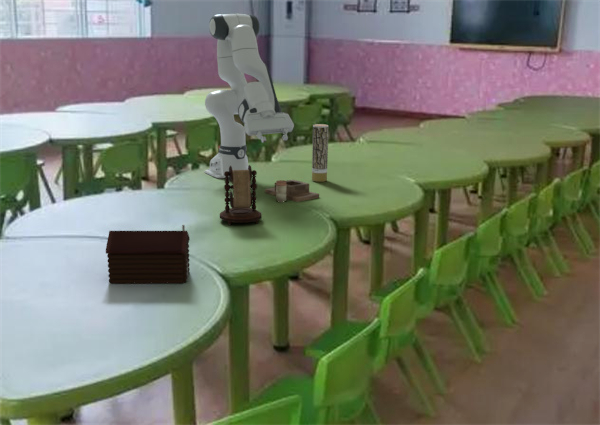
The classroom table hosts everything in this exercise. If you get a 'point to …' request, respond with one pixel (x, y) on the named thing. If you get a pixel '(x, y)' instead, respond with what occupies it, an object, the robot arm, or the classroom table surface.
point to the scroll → (240, 197)
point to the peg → (280, 190)
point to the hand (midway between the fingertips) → (275, 140)
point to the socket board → (295, 191)
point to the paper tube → (320, 152)
